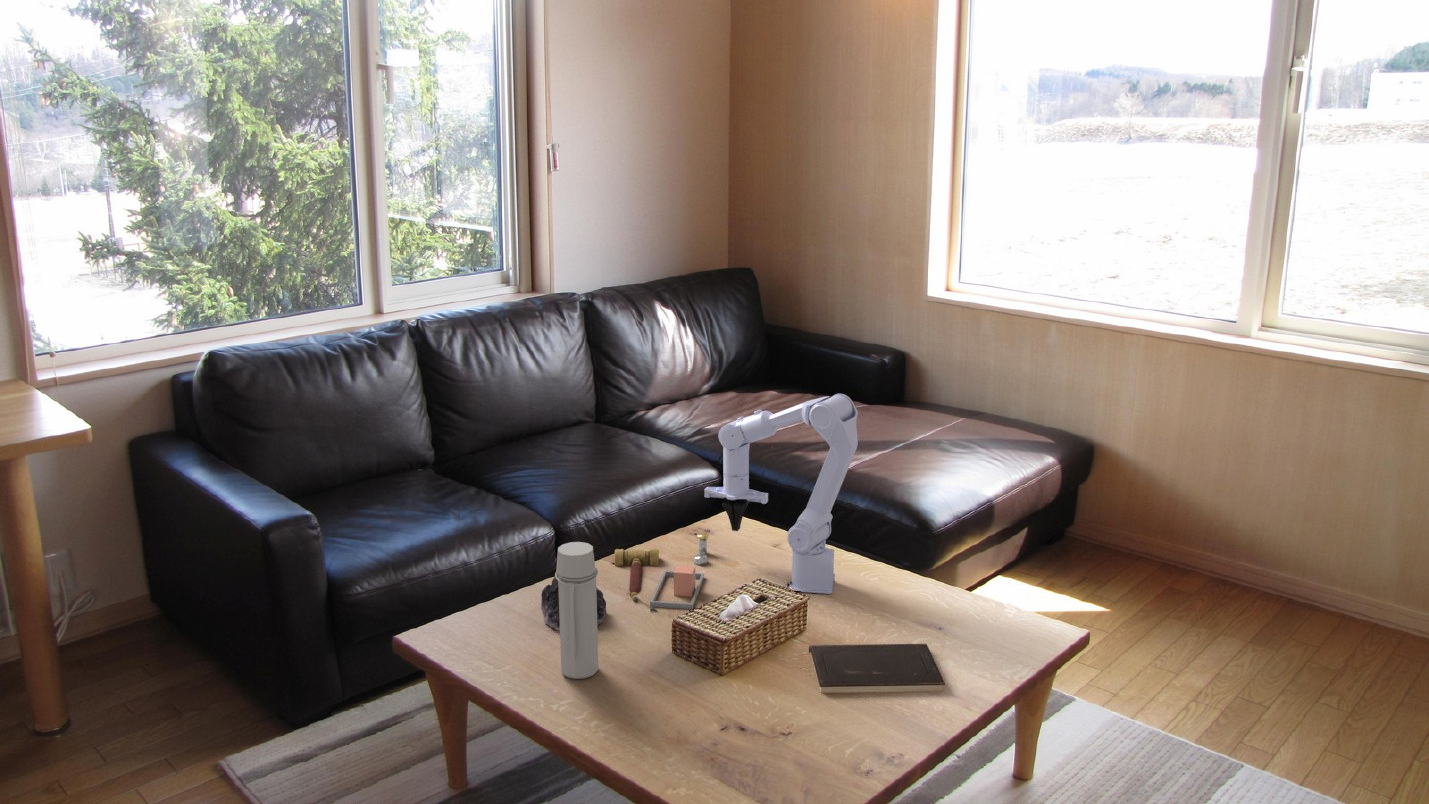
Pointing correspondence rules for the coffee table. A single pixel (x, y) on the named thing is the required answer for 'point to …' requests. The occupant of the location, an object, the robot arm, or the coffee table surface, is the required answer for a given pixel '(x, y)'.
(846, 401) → the robot arm
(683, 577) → the block
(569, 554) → the water bottle
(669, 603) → the rectangular frame
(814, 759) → the coffee table surface
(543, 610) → the crystal cluster
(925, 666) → the hardcover book
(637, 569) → the gavel
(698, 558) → the crank
